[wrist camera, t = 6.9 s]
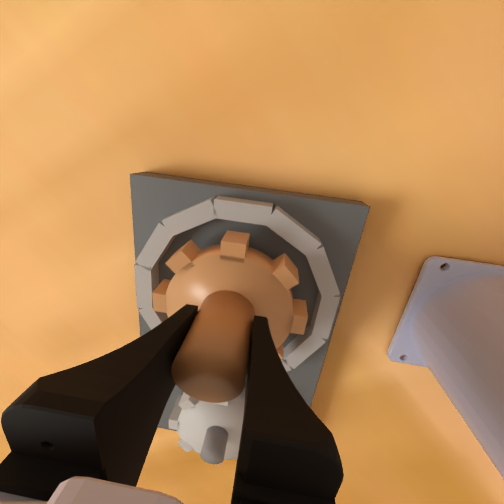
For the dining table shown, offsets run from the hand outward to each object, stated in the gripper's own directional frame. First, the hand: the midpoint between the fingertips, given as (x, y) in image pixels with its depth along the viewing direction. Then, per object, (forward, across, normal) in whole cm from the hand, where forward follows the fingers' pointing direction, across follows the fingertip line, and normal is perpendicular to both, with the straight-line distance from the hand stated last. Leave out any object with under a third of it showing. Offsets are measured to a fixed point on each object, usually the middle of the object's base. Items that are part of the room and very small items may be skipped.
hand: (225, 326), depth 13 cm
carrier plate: (+5, 0, +4) cm, 6 cm away
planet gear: (+2, 0, 0) cm, 2 cm away
